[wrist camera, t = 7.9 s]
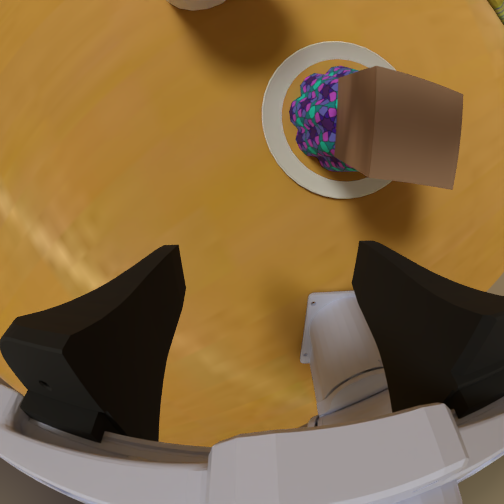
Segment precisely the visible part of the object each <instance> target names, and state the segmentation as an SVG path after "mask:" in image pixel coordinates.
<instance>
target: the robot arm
mask: <svg viewBox="0 0 504 504" xmlns="http://www.w3.org/2000/svg"><path fill="white" fill-rule="evenodd" d="M352 285H353V289H354V291H338V292H319V293H311V294H310V295H309V296H308V302H307V310H306V318H305V326H304V333H303V341H302V348H301V354H300V362H301V363H310V368H311V373H312V379H313V384H314V390H315V395H316V401H317V409H318V415H316V416H313V417H312V418H311V419H310V420H309V423H308V426H307V427H306V428H295V429H280V430H270V431H262V432H254V433H245V434H239V435H237V436H234V437H231V438H228V439H226V440H223V441H220V442H218V443H216V444H215V445H213V446H212V447H201V446H189V445H179V444H171V443H163V442H158V439H159V417H160V404H161V395H162V387H163V379H164V373H165V367H166V361H167V357H168V353H169V349H170V346H171V343H172V339H173V336H174V333H175V330H176V327H177V324H178V321H179V317H180V314H181V311H182V307H183V302H184V296H185V290H186V285H185V280H184V274H183V269H182V263H181V257H180V251H179V245H164V246H162V247H160V248H158V249H157V250H155V251H154V252H152V253H151V254H149V255H148V256H147V257H145V258H144V259H142V260H141V261H140V262H138V263H137V264H135V265H134V266H133V267H131V268H130V269H128V270H127V271H125V272H124V273H122V274H121V275H119V276H118V277H116V278H115V279H113V280H111V281H110V282H108V283H106V284H105V285H103V286H101V287H99V288H97V289H95V290H93V291H91V292H89V293H87V294H85V295H83V296H81V297H78V298H76V299H74V300H72V301H69V302H67V303H64V304H62V305H59V306H56V307H53V308H50V309H47V310H44V311H40V312H36V313H32V314H28V315H24V316H20V317H17V318H16V319H15V320H14V321H13V322H12V324H11V325H10V326H9V328H8V329H7V331H6V332H5V333H4V335H3V336H2V338H1V339H0V350H1V353H2V355H3V357H4V359H5V361H6V362H7V364H8V365H9V367H10V368H11V369H12V371H13V372H14V373H15V375H16V376H17V377H18V378H19V380H20V381H21V382H22V383H23V385H24V386H25V387H26V388H27V389H28V391H27V393H26V395H25V397H24V396H23V395H22V394H21V393H19V392H18V391H16V390H14V389H11V388H9V387H7V386H5V385H3V384H0V457H1V458H2V459H4V460H5V461H7V462H8V463H9V464H11V465H12V466H14V467H15V468H17V469H18V470H20V471H22V472H23V473H25V474H27V475H28V476H30V477H32V478H34V479H35V480H37V481H39V482H41V483H43V484H45V485H46V486H48V487H50V488H52V489H55V490H56V491H58V492H60V493H63V494H65V495H67V496H69V497H71V498H74V499H76V500H78V501H81V502H83V503H86V504H463V503H462V498H461V495H460V491H459V487H458V484H457V483H459V482H461V481H462V480H465V479H466V478H468V477H470V476H472V475H473V474H475V473H476V472H478V471H480V470H481V469H483V468H485V467H486V466H488V465H489V464H491V463H492V462H494V461H495V460H497V459H498V458H500V457H501V456H502V455H504V296H499V295H495V294H491V293H487V292H483V291H480V290H476V289H473V288H470V287H467V286H464V285H462V284H459V283H456V282H454V281H451V280H449V279H447V278H444V277H442V276H440V275H438V274H435V273H433V272H431V271H429V270H428V269H426V268H424V267H422V266H420V265H418V264H416V263H414V262H413V261H411V260H409V259H407V258H406V257H404V256H402V255H400V254H399V253H397V252H395V251H393V250H391V249H390V248H388V247H386V246H384V245H382V244H380V243H378V242H375V241H359V247H358V253H357V258H356V264H355V269H354V274H353V280H352ZM312 302H315V303H313V304H312ZM305 353H306V354H305Z"/></svg>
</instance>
